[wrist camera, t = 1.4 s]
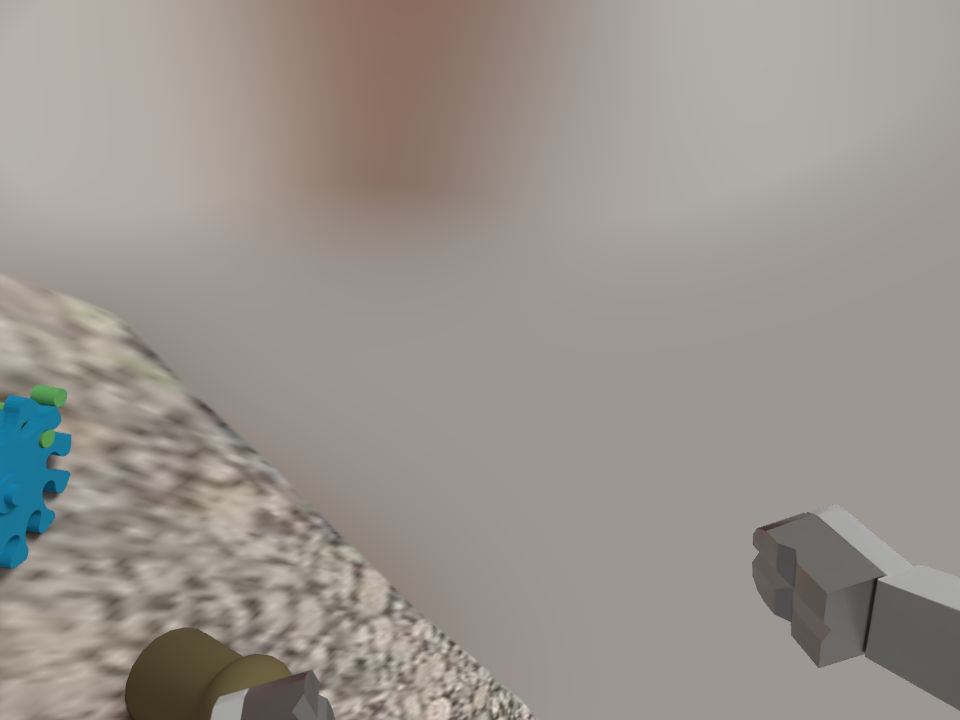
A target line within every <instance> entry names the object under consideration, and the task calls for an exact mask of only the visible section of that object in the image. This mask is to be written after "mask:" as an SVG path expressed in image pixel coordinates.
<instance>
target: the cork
mask: <svg viewBox="0 0 960 720" xmlns="http://www.w3.org/2000/svg"><path fill="white" fill-rule="evenodd" d="M288 676H292V673H291V672H290V671H289V669H288V668H287V666H286V665H285V664H284V663H283V662H281V661H279V660H278V659H276V658H274V657H273V656H269V655H260V654H253V655H248V656H245V657H243V656H241V655H240V654H238V653H237V652H235V651H233V650H232V649H230V648H229V647H227V646H225V645H224V644H222V643H220V642H219V641H217V640H216V639H214V638H212V637H211V636H209V635H208V634H206V633H204V632H202V631H201V630H199V629H194V628H186V627H185V628H180V629H176V630H171V631H169V632H167V633H165V634H164V635H162V636H160V637H158V638H156V639H155V640H154V641H153V642H152V643H151V644H150V645H149V646H148V647H147V648H145V649H144V650H143V652H142V653H141V654H140V656H139V657H138V659H137V660H136V662H135V663H134V665H133V667H132V669H131V672H130V675H129V677H128V680H127V683H126V696H125V700H126V704H127V708H128V711H129V714H130V715H131V716H132V718H133V719H134V720H210V718H211V714H212V710H213V707H214V705H215V704H216V702H217V700H218V698H219V697H220V696H224V695H227V694H230V693H234V692H237V691H240V690H244V689H247V688H250V687H253V686H257V685H260V684H264V683H267V682H271V681H274V680H278V679H281V678H285V677H288Z"/></svg>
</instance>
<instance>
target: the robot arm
mask: <svg viewBox="0 0 960 720" xmlns="http://www.w3.org/2000/svg"><path fill="white" fill-rule="evenodd" d="M753 545H754V546H755V548H756V549H757V550H758V551H759V553H758V555H757V556H756V558H755V559H754V561H753V562H752V568H753V569H752V570H753V578H754V581H755V584H756V587H757V590H758V592H759V594H760V595H761V597H762V599H763V600H764V602H765V603H766V605H767V606H768V607H769V608H770V610H771V611H772V612H773V613H774V614H775V615H777V616H779V617H782V618H784V619H786V620H788V621H790V622H791V635H792V636H793V638H794V639H795V640H796V641H797V643H798V644H799V645H800V646H801V647H802V649H803V650H804V651H805V652H806V653H807V655H808V656H809V657H810V658H811V659H812V661H813V662H814V663H815V664H816V666H817V667H818V668H820V667H824V666H827V665H830V664H833V663H837V662H840V661H843V660H847V659H849V658H853V657H856V656H859V655H862V654H865V657H866V658H868V659H870V660H872V661H873V662H875V663H877V664H879V665H881V666H882V667H884V668H886V669H888V670H889V671H891V672H893V673H895V674H896V675H898V676H900V677H901V678H903V679H905V680H907V681H909V682H910V683H912V684H914V685H916V686H917V687H919V688H921V689H923V690H924V691H926V692H928V693H930V694H931V695H933V696H935V697H937V698H939V699H940V700H942V701H944V702H945V703H947V704H949V705H951V706H953V707H954V708H956V709H958V710H959V711H960V578H959V577H956V576H953V575H950V574H947V573H944V572H942V571H939V570H936V569H933V568H930V567H927V566H924V565H918V566H915V567H913V566H912V565H911V564H910V563H908V562H907V561H906V560H905V559H904V558H902V557H901V556H900V555H899V554H897V553H896V552H895V551H894V550H893V549H891V548H890V547H889V546H888V545H887V544H885V543H884V542H883V541H882V540H880V539H879V538H878V537H877V536H876V535H874V534H873V533H872V532H871V531H870V530H868V529H867V528H866V527H865V526H863V525H862V524H861V523H860V522H859V521H857V520H856V519H855V518H854V517H853V516H851V515H850V514H849V513H848V512H846V511H845V510H844V509H843V508H841V507H839V506H837V505H834V504H832V505H830V506H826V507H823V508H820V509H817V510H813V511H810V512H807V513H802V514H799V515H796V516H793V517H790V518H787V519H784V520H781V521H778V522H775V523H772V524H769V525H766V526H763V527H760V528H757V529H756V531H755V532H754V534H753ZM210 720H335V717H334V713H333V710H332V707H331V705H330V703H329V701H328V699H327V698H325V697H322V696H320V695H319V681H318V679H317V677H316V676H315V674H314V672H313V670H310V671H306V672H302V673H299V674H295V675H292V676H288V677H285V678H281V679H278V680H274V681H271V682H267V683H264V684H260V685H257V686H253V687H250V688H247V689H244V690H240V691H237V692H234V693H230V694H227V695H224V696H220V697H219V698H218V700H217V702H216V704H215V705H214V707H213V710H212V714H211V718H210Z"/></svg>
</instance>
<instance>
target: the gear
mask: <svg viewBox="0 0 960 720" xmlns="http://www.w3.org/2000/svg"><path fill="white" fill-rule="evenodd" d="M30 398H31V399H29V398H25V397H19V396H13V395H10V396H9V397H8V398H7V399H6V401H5V403H2V402H0V567H5V568H14V567H16V566H18V565H19V564H21V563H22V562H23V561H25V560H26V559H27V556H28V547H27V545H26V540H25V535H26V531H31V532H37V533H43V532H45V531H46V529H47V528H48V527H49V526H50V524H51V523H52V522H53V520H54V519H55V513H54V511H52V510H49V509H47V508H46V506H45V504H44V501H43V495H42V492H43V490H44V491H50V492H56V493H62V492H63V491H64V489H65V487H66V485H67V482H68V480H69V477H70V472H68V471H63V470H57V469H50V470H48V469H47V467H46V461H47V459H48V457H49V455H50V454H52V455H58V456H66V455H67V454H68V453H69V452H70V447H71V435H70V434H64V433H59V432H54V431H53V430H52V429H55V428H56V427H58V425H59V424H60V422H61V416H60V413H59V411H58V409H57V407H60V406H62V405H63V404H64V403H65V401H66V398H67V392H66V390H65V389H61V388H55V387H49V386H43V385H37V386H35V387H34V388H33V390H32V391H31V395H30ZM48 405H50V406H48ZM54 406H56V407H54Z"/></svg>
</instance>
